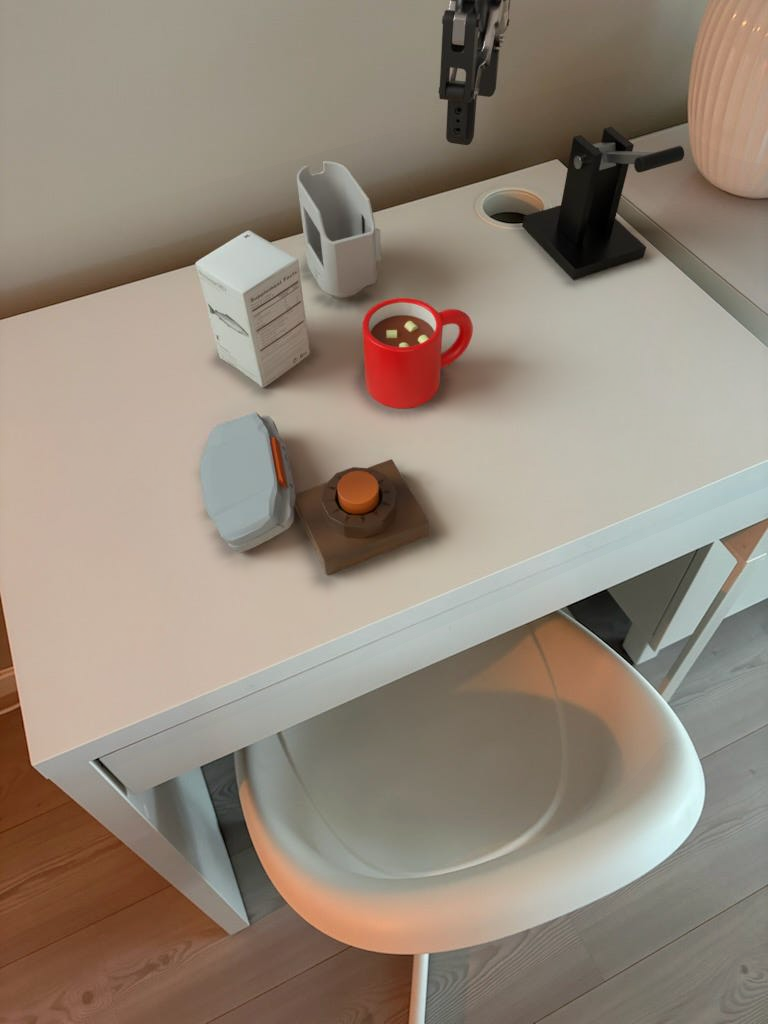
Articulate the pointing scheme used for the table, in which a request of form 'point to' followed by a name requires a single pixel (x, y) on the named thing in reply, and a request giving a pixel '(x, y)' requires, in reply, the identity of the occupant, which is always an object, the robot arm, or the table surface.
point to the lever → (638, 157)
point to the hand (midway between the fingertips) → (471, 117)
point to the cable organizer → (338, 230)
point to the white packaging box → (255, 306)
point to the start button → (358, 492)
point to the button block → (360, 519)
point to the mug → (409, 350)
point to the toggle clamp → (588, 214)
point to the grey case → (247, 481)
